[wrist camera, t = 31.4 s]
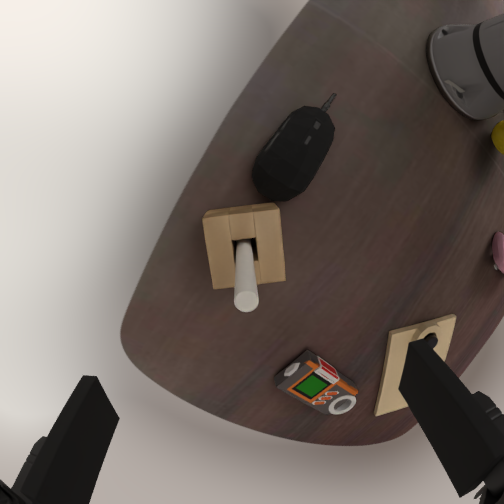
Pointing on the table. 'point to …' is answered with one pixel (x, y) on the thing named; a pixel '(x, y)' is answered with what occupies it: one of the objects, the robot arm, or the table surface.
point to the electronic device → (317, 384)
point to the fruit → (498, 136)
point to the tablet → (396, 355)
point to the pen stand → (243, 227)
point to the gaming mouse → (294, 153)
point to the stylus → (245, 277)
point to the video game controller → (498, 251)
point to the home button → (431, 339)
